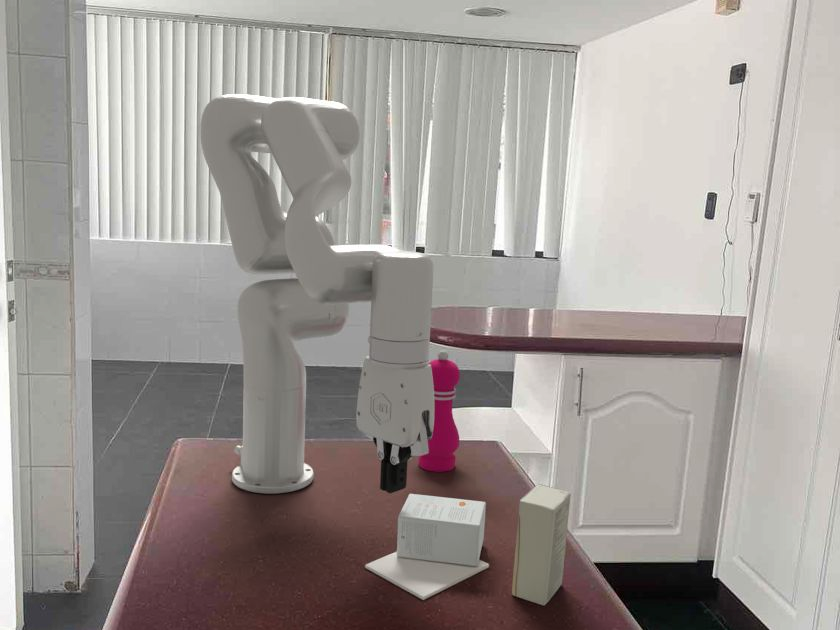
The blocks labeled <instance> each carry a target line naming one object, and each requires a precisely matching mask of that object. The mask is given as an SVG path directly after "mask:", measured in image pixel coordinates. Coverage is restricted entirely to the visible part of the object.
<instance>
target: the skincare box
mask: <svg viewBox="0 0 840 630" xmlns="http://www.w3.org/2000/svg"><path fill="white" fill-rule="evenodd" d="M571 495H572V492H571V491H567V490H564V489H560V488H556V487H553V486H552V487H551V486H549V485H545V484H541V483H537V484H535V486H533V487H532V488H531V489H530V490H529V491H528V492H527V493H526V494H525V495H524V496H522V498H521V499H520V500H519V505H518V506H519V507H518V518H517V527H516V528H517V529H516V541H515V550H514V561H513V563H514V564H513V573H512V574H513V575H512V585H511V587H512V588H511V596H514V597H517V598H520V599H522V600H525V601H529V602H531V603H534V604H538V605H541V606H545V605H546V604H547V603H549V601H550V600H551V598H553V596H554V595H555V594H556V592H557V591H558V590H559V588H560V587H561V585H562V583H563V576H564V563H565V555H566V545H567V543H566V542H567V535H568V534H567V533H568V527H569V526H568V525H569V515H570V506H571V497H572V496H571Z"/></svg>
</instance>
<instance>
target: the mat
mask: <svg viewBox="0 0 840 630" xmlns="http://www.w3.org/2000/svg"><path fill="white" fill-rule="evenodd" d="M364 568H365V569H367V571H371V572H372V573H374V574H375V575H378V576H379V577H381V578H382V579H385V580H386V581H388V582H390V583H392V584H394V585H395V586H397V587H399V588H400V589H402V590H404V591H406V592H409V594H412V595H414V596H415V597H417V598H419V599H420V600H422V601H425V600H426V599H428V598H431V597H433V596H434V595H437V594H439V593H440V592H442V591H444V590H446V589H448V588H451V587H452V586H454V585H456V584H458V583H460V582H462V581H464V580H466V579H469V578H470V577H473V576H474V575H476V574H478V573H480V572H482V571H484V570H486V569H488V568H490V563H488V562H485V561H483V560H481V559H479V562H478V566H469V565H461V564H453V563H444V562H436V561H428V560H420V559H412V558H404V557H397V551H394V552H393V553H390V554H387V555H385V556H382V557H379V558H378V559H376V560H373V561H370V562H369V563H366V564H365V565H364Z"/></svg>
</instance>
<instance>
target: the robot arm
mask: <svg viewBox="0 0 840 630" xmlns="http://www.w3.org/2000/svg"><path fill="white" fill-rule="evenodd" d="M200 120H201V121H200V143H201V149H202V153H203V157H204V160H205V163H206V165H207V167H208V169H209V173H210V174H211V176H212V178H213V180H214V182H215V184H216V187H217V189H218V191H219V195H220V197H221V198H220V199H221V202H222V208H223V212H224V217H225V220H226V225H227V227H228V232H229V237H230V238H229V239H230V242H231V247H232V250H233V254H234V257H235V260H236V262H237V265H238V267H240V269H241V270H243V271H244V272H245V273H249V274H251V275H277V274H278V275H279V274H281V275H283V274H295V276H296V278H293V277H291V278H276V279H275V278H274V279H265V280H260V281H257V282H254V283H252V284H250V285H248V286H247V287H245V289H244V290H243V291H241V293H240V295H239V298H238V300H237V301H238V302H237V308H236V309H237V311H236V312H237V318H238V319H237V320H238V324H239V325H238V326H239V331H240V336H241V337H240V338H241V343H242V346H241V347H242V360H243V364H242V367H243V368H242V370H243V372H242V373H243V376H242V377H243V378H242V379H243V380H242V382H243V383H242V384H243V391H242V392H243V393H242V394H243V397H242V400H243V401H242V402H243V404H242V407H243V408H242V409H243V410H242V443H241V445H236V446H235V447H234V450H233V451H234V453H235V454H236V455H239V456H240V464H238V466H235V468H234V469H233V470H232V471H231V472H232V473H231V481H232V483H233V484H234V485H235V486H236V487H237V488H239V489H240V490H244V491H246V492H251V493H257V494H269V495H271V494H273V495H274V494H285V493H290V492H296V491H298V490H301V489H304V488H305V487H307V486H309V485H310V484H311V483H312V482H313V481H314V469H313V468H312V466H310V465H309V464H307V463H305V442H306V441H305V439H306V438H305V437H306V407H307V406H306V401H307V399H306V398H307V370H306V369H307V368H306V366H305V362H304V360H303V358H302V357H301V355H300V354H299V352H298V350H297V349H296V347H295V345H294V342H298V341H302V340H308V339H309V340H310V339H319V338H326V337H331V336H335V335H337V334H339V333H341V332H342V331H343V330H344V328H345V327H346V326H347V324H348V320H349V317H350V305H349V304H354V303H355V304H356V303H370V323H369V326H370V327H369V329H370V330H369V336H368V338H367V342H368V345H369V349H368V350H369V351H368V352H369V353H368V355H367V356H365V358H364V362H363V365H362V369H361V373H360V378H359V386H358V394H357V401H356V414H355V415H356V417H355V418H356V419H355V420H356V427H357V428H358V430H359V431H360V432H361V433H364V435H365V436H366V437H367V438H369V439H370V440H371V441H373V443H374V445H375V447H376V451H377V452H376V453H377V457H378V459H379V460H380V477H379V478H380V480H379V482H380V483H379V489H380V490H381V491H384V492H386V493H388V494H393V493H396V492H399V491H402V490H404V489H406V487H407V482H408V480H407V478H408V477H407V476H408V461H411V460H412V458H413V456H415V457H419V456H422V455H425V454H428V452H429V448H428V440H430V439H431V438H432V435H433V428H434V385H433V376H432V369H431V365H430V364H428V363H430V348H431V347H430V346H431V345H430V342H431V324H432V322H431V321H432V305H433V303H432V302H433V301H432V300H433V288H434V287H433V285H434V263H433V260H432V258H431V257H430V256H429V255H428V254H426V253H423V252H418V251H410V250H409V251H408V250H406V251H405V250H401V249H398V248H397V247H393V246H390V245H387V244H378V243H374V244H372V243H371V244H364V243H363V244H359V243H358V244H335V240H334V237H333V235H332V232H331V230H330V228H329V227H328V225H327V224H326V222H325V221H323V219H322V218H321V217H318V216H319V215H321V214H322V213H325V212H327V211H329V210H331V209H332V208H334V207H336V206H337V205H338V204H340V202H342V201H343V200H344V199H345V198H346V196H347V195H348V194H349V192H350V190H351V186H352V176H351V174H350V171H349V169H348V167H347V165H346V164H345V162H344V160H346V159H348V158H350V157H351V156H352V155H353V154H354V153H355V152H356V150H357V149H358V146H359V142H360V133H361V132H360V126H359V123H358V119H357V118H356V116H355V113H353V111H352V110H351V109H350V108H349V107H348V106H346V105H344V104H342V103H341V102H338V101H337V102H336V101H330V100H322V99H315V98H307V97H299V96H287V97H282V98H281V97H280V98H277V97H269V96H262V95H253V94H245V93H244V94H242V93H240V94H239V93H233V94H230V93H229V94H223V95H219V96H217V97H214V98H213V99H211V100H209V102H208V103H207V104H206V106H205V107H204V109H203V112H202V115H201V118H200ZM252 153H262V154H263V153H264V154H271V155H272V156H273V158H274V159H273V160H275V163H276V166H277V167H278V169H279V171H280V173H281V176H282V177H283V179H284V183H286V187H287V188H288V191H289V192H290V194H291V196H292V202H291V204H290V206H289V208H288V211H287V212H286V211H285V210H283V209H282V206H281V204H280V201H279V197H278V192H277V188H276V186H275V183H274V181H273V180H272V178H271V176H270V175H269V174H268V172H267V170H266V169H265V167H263V166H262V165H261V164H260V163H259V162H258V161H257V160H256V159H255V158H254V157H253V156H252Z"/></svg>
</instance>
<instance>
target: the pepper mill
mask: <svg viewBox="0 0 840 630" xmlns="http://www.w3.org/2000/svg"><path fill="white" fill-rule="evenodd" d="M448 358H449V352H448V351H446V350H444V349H443V350H440V351H438V352H437V358H436V359H433V360H431V361H429V363H428V364H430V365H431V369H432V376H433V385H434V428H433V435H432V438H431V439H430V440H428V448H429V452H428V454H425V455H422V456H418V462H417V463H418V466H419V467H420V468H421V469H423V470H425V471H427V472H428V471H430V472H435V473H441V472H442V473H443V472H449V471H452V470H454V469H455V467H456V455H455V454H454V453H456V451H457V450H458V448H459V446H460V435H459V430H458V428H457V425H456V422H455V419H454V416H453V402H454V399H455V398H456V396H457V395H456V393H457V389H456V388H455V387H456V386H457V385H458V383H459V381H460V380H461V379H460V377H461V374H460V368H459V366H458V365H457V364H456V363H455V362H453V361H452V360H450V359H448Z"/></svg>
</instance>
